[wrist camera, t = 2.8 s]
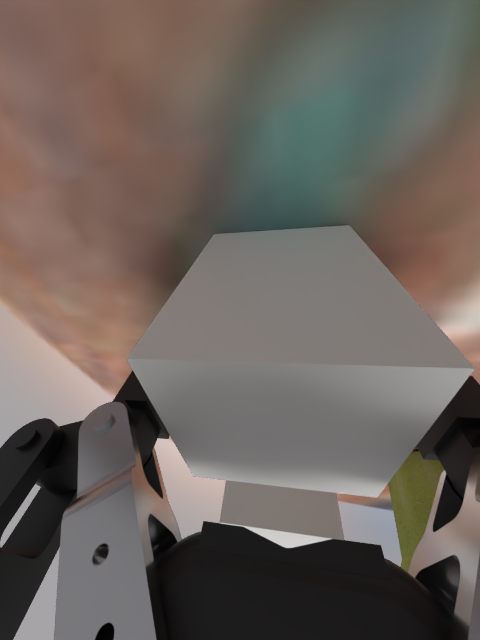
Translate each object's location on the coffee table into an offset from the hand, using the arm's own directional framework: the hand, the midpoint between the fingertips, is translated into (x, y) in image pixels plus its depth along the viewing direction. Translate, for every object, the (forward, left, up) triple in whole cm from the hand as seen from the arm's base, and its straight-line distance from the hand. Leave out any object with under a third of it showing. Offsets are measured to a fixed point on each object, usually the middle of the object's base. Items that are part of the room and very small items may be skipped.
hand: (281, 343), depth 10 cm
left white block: (-1, 0, -4) cm, 4 cm away
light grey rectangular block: (+11, 0, -4) cm, 12 cm away
